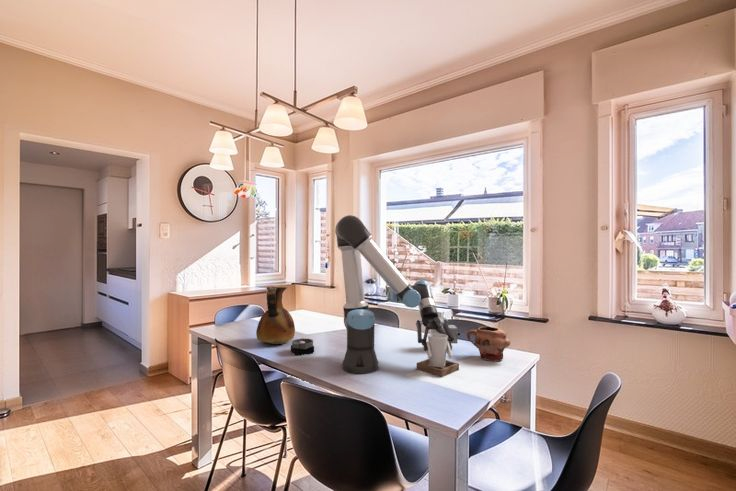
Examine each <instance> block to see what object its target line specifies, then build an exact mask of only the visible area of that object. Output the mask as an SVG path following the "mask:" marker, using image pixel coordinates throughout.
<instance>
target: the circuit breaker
mask: <svg viewBox="0 0 736 491" xmlns="http://www.w3.org/2000/svg"><path fill="white" fill-rule="evenodd" d="M438 317H439V316H438ZM439 319H440V320H443V321H444V320H447V325H448V327H449V329H450V331H451V333H452V335H453V337H454V340H453V341H452V342H451V344H455V345H457V344H458V336H461V333H460V332H459V331H458V327H457V326H456V325H454V324H449V320H448V319H447V317H439ZM440 325H441V328H442V329H443V330H444V328H443V326H442V324H441V323H440ZM430 331H431V332H430V334H433V333H438V332H437V331H436V330H435V329H431V330H430ZM444 332H445V330H444ZM445 333H446V332H445ZM446 352H447V350H446Z"/></svg>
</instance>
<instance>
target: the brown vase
mask: <svg viewBox="0 0 736 491" xmlns="http://www.w3.org/2000/svg"><path fill="white" fill-rule="evenodd" d="M265 289H266V290H267V291H266V305H267V310H266V311H264V313H263V314H262V316H261V317H260V319H259V322H258V323H257V326H256V330H255V331H256V333H255V334H256V339H257V340H258V341H260V342H262V343H268V344H274V345H275V344H277V345H279V344H281V345H282V344H286V343H288V342H289V341H291V340H292V339H293V340H294V337H295V333H296V328H295V326H296V325H295V322H294V318H293V316H292V314H290V312H289V311H288V310H287V309H286V308H284V306H283V293H284V292H285V290H287V289H288V287H286V286H285V287H284V286H274V285H273V286H268V287H267V286H266V287H265Z"/></svg>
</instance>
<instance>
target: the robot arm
mask: <svg viewBox="0 0 736 491" xmlns="http://www.w3.org/2000/svg"><path fill="white" fill-rule="evenodd" d="M334 228H335V229H334V230H335V231H334V232H335V233H334V234H335V236H336V243H337V248H338V249H339V251H341V260H342V272H343V282H344V283H343V285H344V293H345V294H344V295H345V304H344V305H343V306H342V308H343V324H344V327H345V329H346V351H345V355H344V358H343V360H342V369H343V371H345V372H348V373H350V374H352V373H353V374H369V373H373V372H375V371H378V370H379V360H378V358H377V353H376V351H375V350H376V349H375V323H376V318H375V314H374V312H373V311H371V310H370V308H369V303H368V302H367V301H366V300H365V289H364V281H363V280H364V279H363V269H362V258H361V255H362V257H363V258H364V259H365V260H366V261H367V263H369V265H370V266H371V268H373V270H375V272H377V274H378V276H379V277H381V279H382V281H384V282H385V283H386V285H387V286H388V287H389V288H390V291H389V295H390V301H391V302H392V303H402V304H403V305H404V306H406V307H407V308H411V309H412V308H416V307H418V310H419V313H420V318H421V320H419V319H417V320H416V322H415V325H416V330H417V333H416V334H417V343H418V344H421V345H422V346H423V350H424V351H425V352H426V354H427V359H431V357H432V354H431V350H430V346H429V341H427V340H428V335H429V330H430V331H431V329H435V330H436V331H437V332H438V333H439V334H445V335H447V336H448V337H447V348H446V350H447V351H446V354H447V356H448V359H451V358H452V356H453V352H452V349H453V346H452V345H453V344H452V343H451V342H452V341H453V340H454V337H453V335H452V333H451V331H450V329H449V327H448V325H449V324H448V325H447V320H448V319H447V320H444V321H443V320H440V319H439V314H438V310H437V307H436V303H435V300H434V296H433V292H432V288H431V286H430V284H429V282H428V281H427V280H426V279H425V280H424V279H420V280H417V281H415V283H414V284H413V285H411V284H410V283H409V281H408V280H407V279H406V277H405V276H404V275H403V274H402V273H401V272H400V271H399V269H398V268H397V267H396V265H395V264H394V263H393V262H392V261H391V260H390V259H389V257H388V256H387V255H386V254H385V252H383V251H382V249H381V248H380V247H379V246H378V244H377V243H376V242H375V241H374V240H373V238H372V237H373V235H372V233H370V231H369V230H368V228H367V227H366V226H365V225H364V223H363V221H362V220H361V219H360V218H359V217H357V216H355V215H351V214H350V215H345V216H343V217H342V218H340V219H339V220H338V222H337V223H336V224H335V227H334ZM440 323H441V324H442V326H443V328H444V330H445V332H446V333H445V332H444V330H443V329H442V328H441V325H440ZM422 325H423V326H424V327H425V328H424V335H423V334H422V332H423V331H422ZM422 335H423V337H422Z"/></svg>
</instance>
